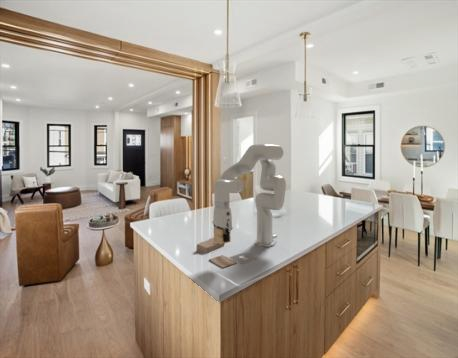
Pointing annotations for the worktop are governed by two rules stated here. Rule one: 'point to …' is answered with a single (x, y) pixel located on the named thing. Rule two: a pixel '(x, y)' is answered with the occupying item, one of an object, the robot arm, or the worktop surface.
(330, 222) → the worktop surface
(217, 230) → the oak block
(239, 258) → the pad
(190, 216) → the worktop surface
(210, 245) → the brick
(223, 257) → the walnut board
